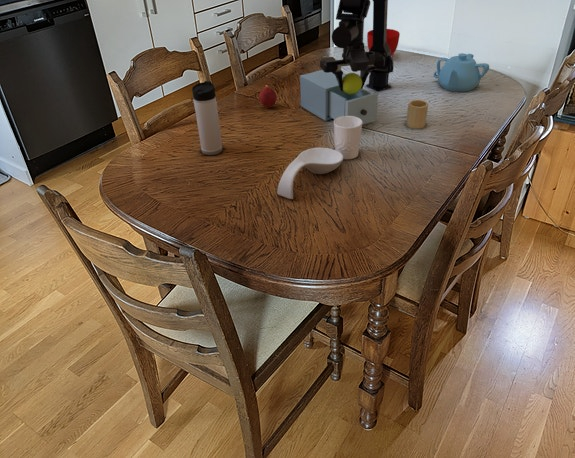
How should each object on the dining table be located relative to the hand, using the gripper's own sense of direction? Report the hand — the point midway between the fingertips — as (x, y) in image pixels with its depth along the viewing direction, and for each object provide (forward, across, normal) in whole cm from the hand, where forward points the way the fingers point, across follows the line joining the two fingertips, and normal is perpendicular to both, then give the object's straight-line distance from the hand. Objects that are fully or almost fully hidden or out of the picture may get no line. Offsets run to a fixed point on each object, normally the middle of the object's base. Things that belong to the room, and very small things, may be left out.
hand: (351, 89), depth 154 cm
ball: (-2, 0, 0) cm, 2 cm away
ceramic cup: (+5, +30, +52) cm, 61 cm away
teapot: (+11, +47, +18) cm, 51 cm away
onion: (+11, -23, +18) cm, 32 cm away
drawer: (+10, 0, 0) cm, 10 cm away
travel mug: (+11, -45, -7) cm, 47 cm away
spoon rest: (+11, -21, -31) cm, 39 cm away
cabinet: (+10, -4, +11) cm, 16 cm away
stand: (+10, +19, -8) cm, 23 cm away
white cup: (+11, -8, -21) cm, 24 cm away
